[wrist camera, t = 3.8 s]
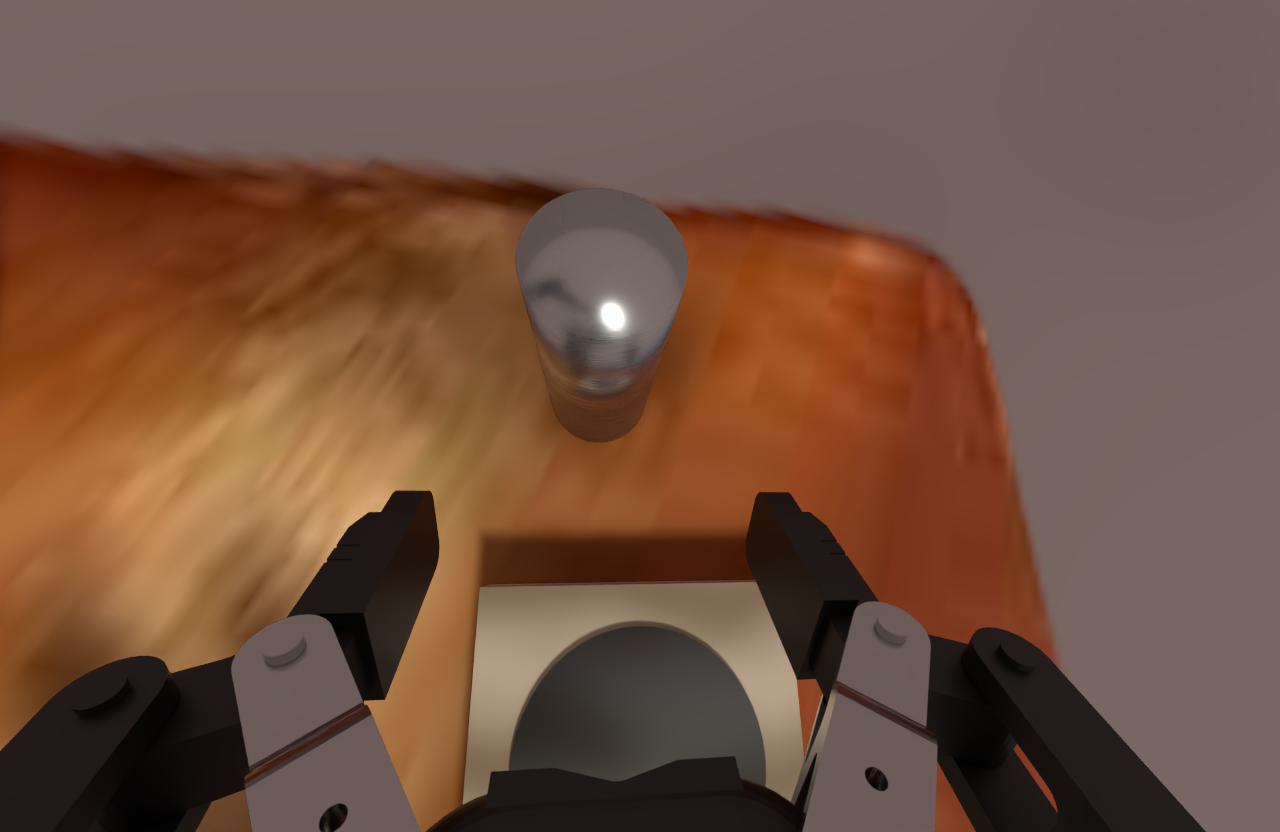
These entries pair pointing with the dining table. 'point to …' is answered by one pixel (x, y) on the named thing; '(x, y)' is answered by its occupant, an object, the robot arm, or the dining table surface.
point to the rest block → (630, 681)
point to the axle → (600, 304)
